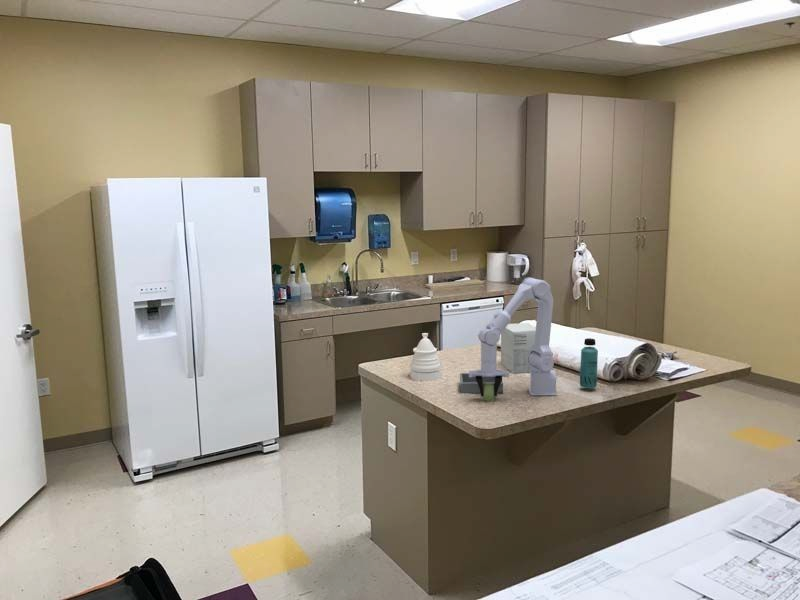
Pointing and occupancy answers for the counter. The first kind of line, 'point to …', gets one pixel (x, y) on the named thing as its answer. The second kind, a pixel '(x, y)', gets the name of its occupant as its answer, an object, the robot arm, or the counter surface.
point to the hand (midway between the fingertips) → (488, 395)
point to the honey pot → (425, 361)
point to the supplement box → (517, 346)
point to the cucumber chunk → (488, 391)
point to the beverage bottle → (588, 365)
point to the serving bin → (475, 384)
